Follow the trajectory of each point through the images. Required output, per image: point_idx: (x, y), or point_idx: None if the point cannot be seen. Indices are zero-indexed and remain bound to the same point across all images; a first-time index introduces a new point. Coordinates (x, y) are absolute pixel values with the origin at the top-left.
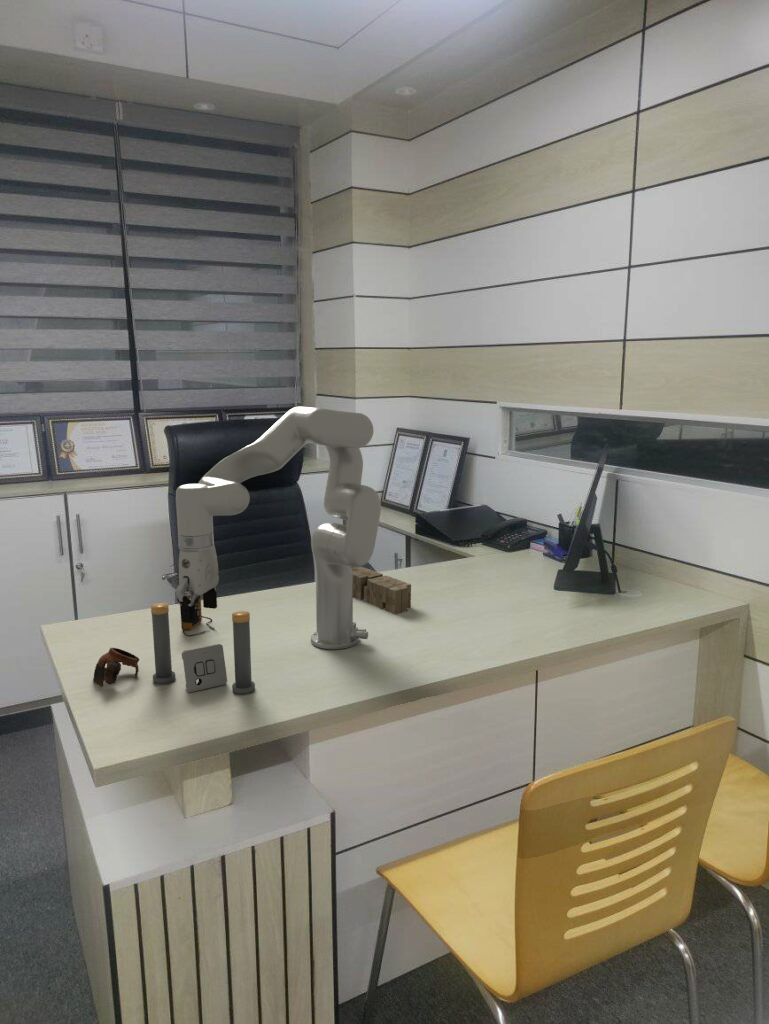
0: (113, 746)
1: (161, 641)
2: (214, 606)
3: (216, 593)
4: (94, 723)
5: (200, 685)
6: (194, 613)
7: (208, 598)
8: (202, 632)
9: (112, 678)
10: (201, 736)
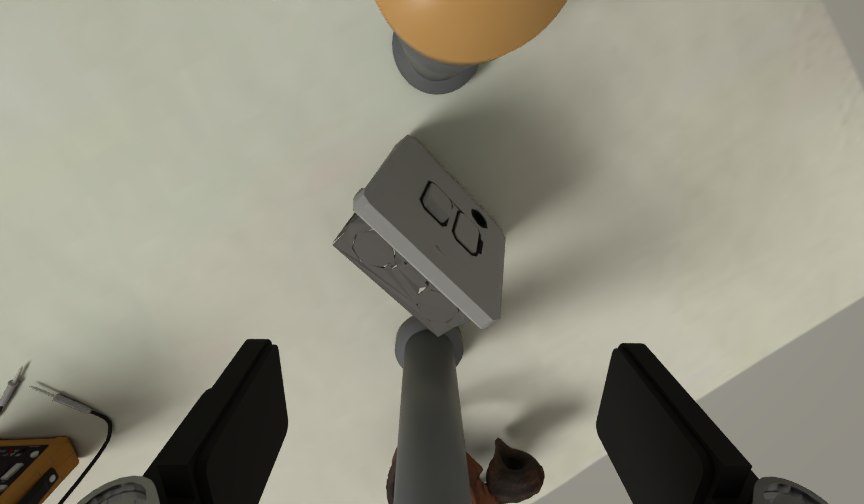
0: (830, 269)
1: (461, 439)
2: (272, 356)
3: (174, 441)
4: (702, 372)
5: (477, 208)
6: (689, 397)
7: (251, 458)
8: (64, 399)
9: (511, 452)
10: (797, 42)
